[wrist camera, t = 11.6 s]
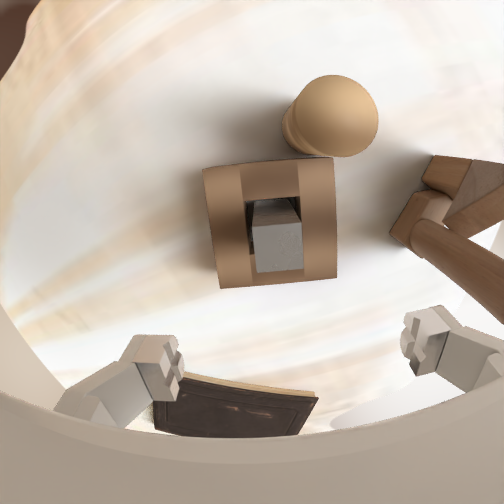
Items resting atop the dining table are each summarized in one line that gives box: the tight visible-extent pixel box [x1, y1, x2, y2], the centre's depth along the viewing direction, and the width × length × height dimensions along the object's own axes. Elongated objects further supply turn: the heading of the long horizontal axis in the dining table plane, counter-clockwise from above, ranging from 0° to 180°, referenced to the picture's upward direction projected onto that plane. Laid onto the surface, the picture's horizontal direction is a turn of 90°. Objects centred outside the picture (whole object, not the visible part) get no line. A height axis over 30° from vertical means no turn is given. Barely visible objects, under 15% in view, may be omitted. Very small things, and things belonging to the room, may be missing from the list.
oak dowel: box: [282, 75, 378, 157], centre depth 20 cm, size 6×6×10 cm
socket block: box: [202, 157, 337, 289], centre depth 26 cm, size 11×11×4 cm
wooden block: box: [390, 155, 504, 324], centre depth 18 cm, size 4×11×18 cm, turn 150°
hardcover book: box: [153, 372, 319, 438], centre depth 38 cm, size 16×23×2 cm
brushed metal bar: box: [252, 199, 304, 273], centre depth 23 cm, size 3×3×10 cm
